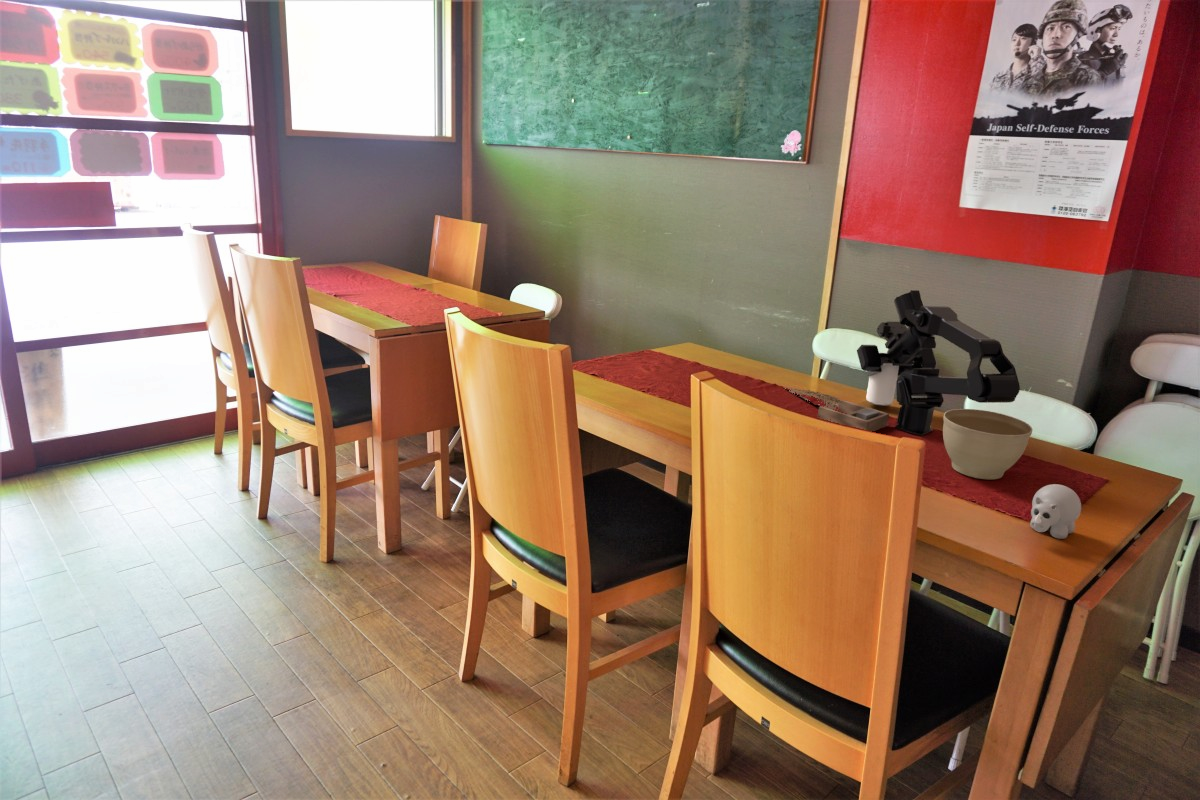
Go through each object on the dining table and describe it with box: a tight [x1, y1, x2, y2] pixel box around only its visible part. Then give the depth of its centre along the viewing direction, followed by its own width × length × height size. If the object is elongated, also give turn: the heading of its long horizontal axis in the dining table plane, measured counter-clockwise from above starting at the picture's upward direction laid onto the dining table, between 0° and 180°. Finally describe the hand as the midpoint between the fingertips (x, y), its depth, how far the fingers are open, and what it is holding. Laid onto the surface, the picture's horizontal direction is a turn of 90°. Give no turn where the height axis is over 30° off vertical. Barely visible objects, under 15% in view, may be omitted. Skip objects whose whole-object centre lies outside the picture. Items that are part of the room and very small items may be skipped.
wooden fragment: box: [784, 387, 841, 410], centre depth 199 cm, size 26×11×1 cm, turn 32°
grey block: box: [856, 408, 879, 420], centre depth 182 cm, size 4×7×4 cm, turn 133°
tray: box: [816, 399, 890, 432], centre depth 184 cm, size 12×10×3 cm
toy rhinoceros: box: [1029, 483, 1082, 540], centre depth 132 cm, size 7×12×8 cm, turn 130°
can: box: [865, 364, 899, 406], centre depth 195 cm, size 6×6×12 cm
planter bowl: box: [942, 408, 1033, 480], centre depth 158 cm, size 16×16×11 cm
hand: (880, 374), depth 196 cm, fingers closed on can, 6 cm apart
